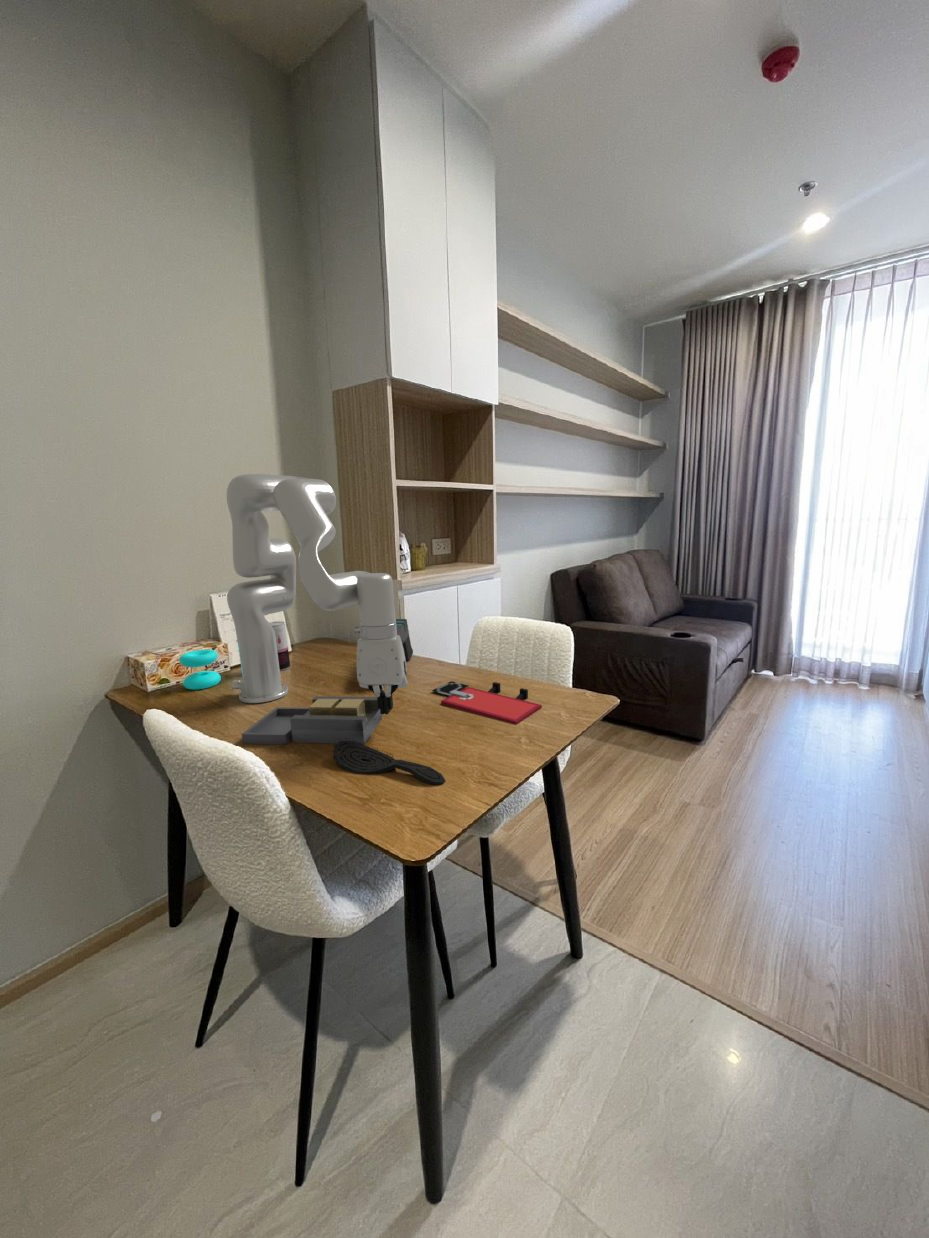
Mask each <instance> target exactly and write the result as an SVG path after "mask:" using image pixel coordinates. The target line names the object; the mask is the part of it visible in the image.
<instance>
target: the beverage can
mask: <svg viewBox="0 0 929 1238" xmlns="http://www.w3.org/2000/svg"><path fill="white" fill-rule="evenodd" d="M269 623H270V624H271V625H272V627H273V629H274V631H275V637H276V645H277V653H278V661H279V669H280V672H283V671H286V670H288V669H289V668H290V667H291V658H290V653H289V645H288V643H289V642H288V637H287V636H288V635H287V628H286V623H285V621H271V622H269Z"/></svg>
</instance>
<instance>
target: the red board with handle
mask: <svg viewBox="0 0 929 1238" xmlns="http://www.w3.org/2000/svg"><path fill="white" fill-rule="evenodd" d="M491 685H492V687H491V688H490V689H489V690H488V691H487V690H482V689H477V688H473V687H470V685H468V684H464V683H460V682H456V681H452V680H451V681H449V682H446V683H444V684H442V685H440V686H437V687H436V688H434V689H432V690H431V691H432V692H435V693H439V694H442V695H446V696H448V697H445V698H443V699H442V700H441V701H440V704H441V705H444V706H447V707H450V708H455V709H458V710H462V711H465V712H470V713H474V714H478V715H480V716H485V717H489V718H491V719H492V718H493V719H496V720H500V721H503V722H507V723H511V724H515V725H519V724H520V723H521V722H522V721H524V720H526V719H527V718H529V717H530V716H533V714H535V713H536V712H538V711H539V710H541V709H542V707H543V705H542V704H539V703H535V702H532V701H531V702H530V701H528V699H529V690H528V689H527V688H523V687H521V688H519V694H518V695H516V697H512V696H507V695H502V694H500V693H501V682H496V681H494V682H492V683H491Z"/></svg>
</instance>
